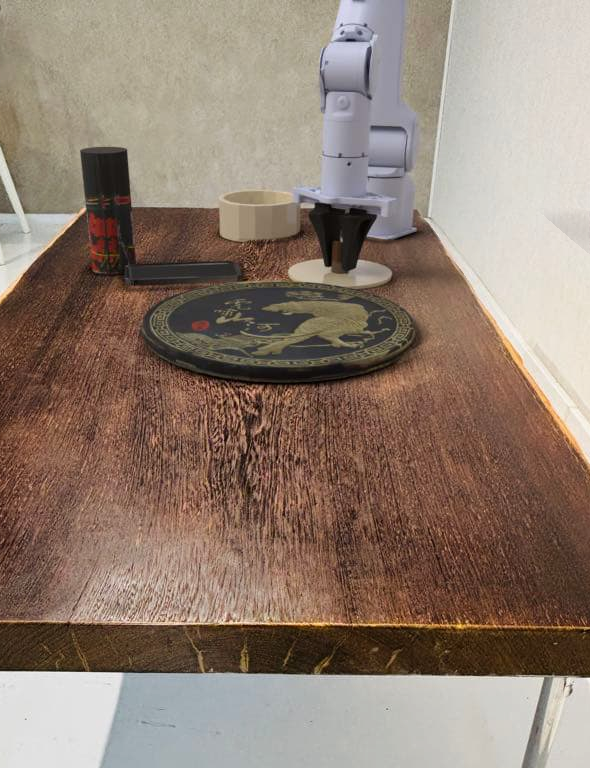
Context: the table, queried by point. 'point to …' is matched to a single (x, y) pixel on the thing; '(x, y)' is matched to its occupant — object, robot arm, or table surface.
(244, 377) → the decorative plate
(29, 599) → the table surface
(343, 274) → the cover
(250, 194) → the container
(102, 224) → the deodorant
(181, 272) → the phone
